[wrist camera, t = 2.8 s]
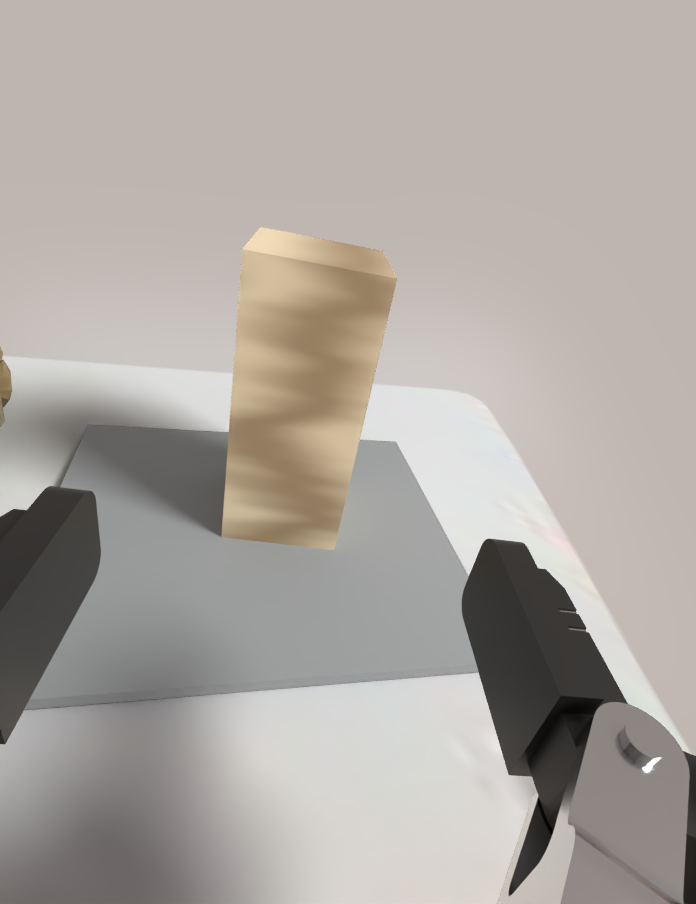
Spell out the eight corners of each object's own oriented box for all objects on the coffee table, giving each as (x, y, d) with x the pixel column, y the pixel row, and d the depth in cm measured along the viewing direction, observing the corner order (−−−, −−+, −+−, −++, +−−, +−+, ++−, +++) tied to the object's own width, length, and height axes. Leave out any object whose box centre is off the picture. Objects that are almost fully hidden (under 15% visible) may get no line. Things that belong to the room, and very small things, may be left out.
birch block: (221, 536, 22) (242, 249, 16) (238, 473, 26) (260, 227, 20) (333, 550, 22) (397, 278, 16) (333, 485, 27) (382, 250, 20)
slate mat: (-35, 714, 14) (-39, 704, 14) (88, 432, 27) (88, 424, 27) (509, 669, 19) (514, 661, 19) (394, 448, 32) (395, 441, 32)
